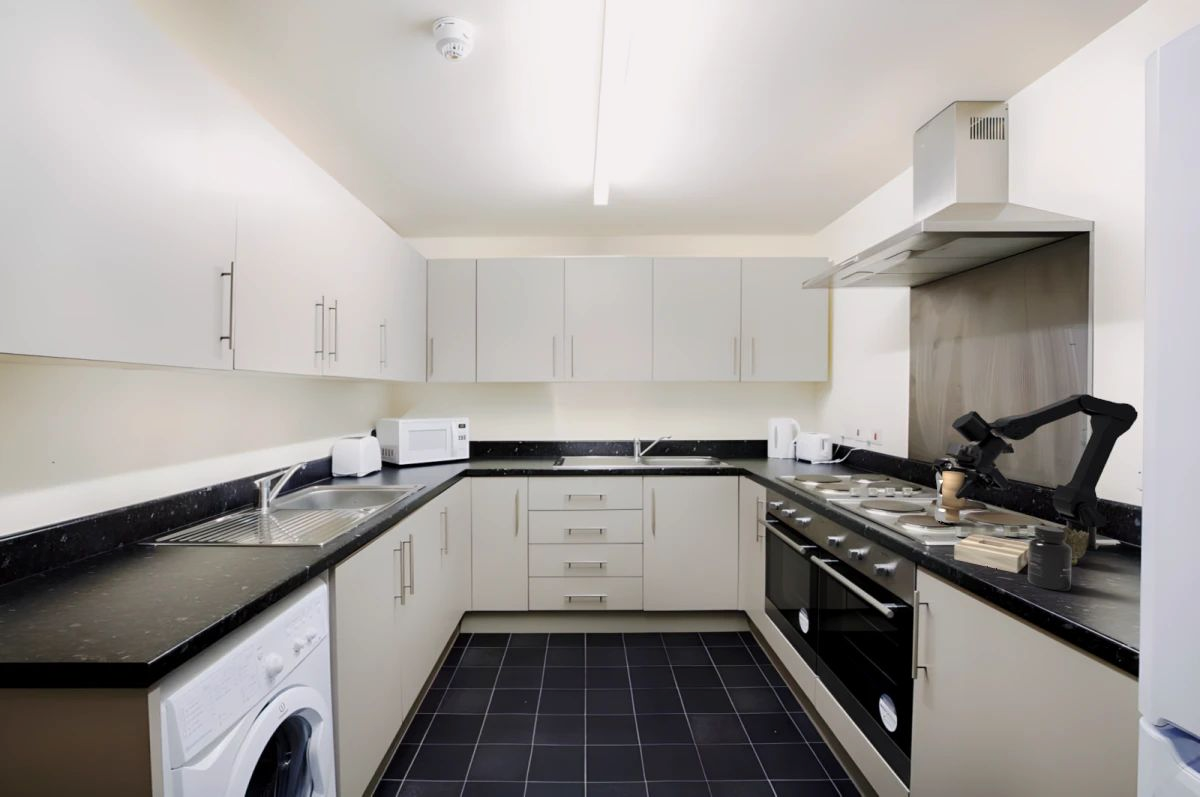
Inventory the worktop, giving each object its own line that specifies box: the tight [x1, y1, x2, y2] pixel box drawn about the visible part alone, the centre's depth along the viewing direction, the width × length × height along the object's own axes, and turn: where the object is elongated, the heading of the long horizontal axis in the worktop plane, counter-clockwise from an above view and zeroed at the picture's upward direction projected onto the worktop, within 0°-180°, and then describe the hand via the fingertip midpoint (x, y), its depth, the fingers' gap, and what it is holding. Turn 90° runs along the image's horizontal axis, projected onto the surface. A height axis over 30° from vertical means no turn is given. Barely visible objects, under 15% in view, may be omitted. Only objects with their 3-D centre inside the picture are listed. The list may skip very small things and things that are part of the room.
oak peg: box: [940, 471, 966, 523], centre depth 136 cm, size 6×6×13 cm
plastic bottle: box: [934, 457, 961, 522], centre depth 157 cm, size 6×7×20 cm
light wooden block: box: [953, 532, 1029, 574], centre depth 124 cm, size 16×12×4 cm
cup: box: [1056, 526, 1089, 566], centre depth 121 cm, size 8×7×8 cm
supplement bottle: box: [1027, 525, 1072, 592], centre depth 107 cm, size 7×7×12 cm
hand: (948, 495), depth 136 cm, fingers closed on oak peg, 5 cm apart
